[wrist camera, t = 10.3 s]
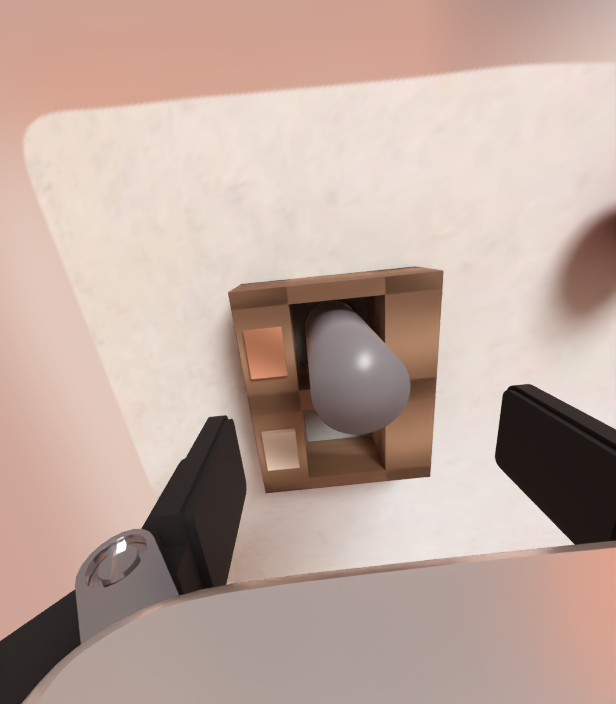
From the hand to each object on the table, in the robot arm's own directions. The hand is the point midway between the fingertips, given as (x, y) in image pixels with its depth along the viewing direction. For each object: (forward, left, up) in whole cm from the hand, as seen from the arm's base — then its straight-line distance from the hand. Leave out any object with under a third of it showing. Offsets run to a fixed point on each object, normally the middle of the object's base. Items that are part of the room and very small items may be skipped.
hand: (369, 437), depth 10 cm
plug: (+1, 0, -12) cm, 12 cm away
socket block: (-3, 0, -12) cm, 12 cm away
